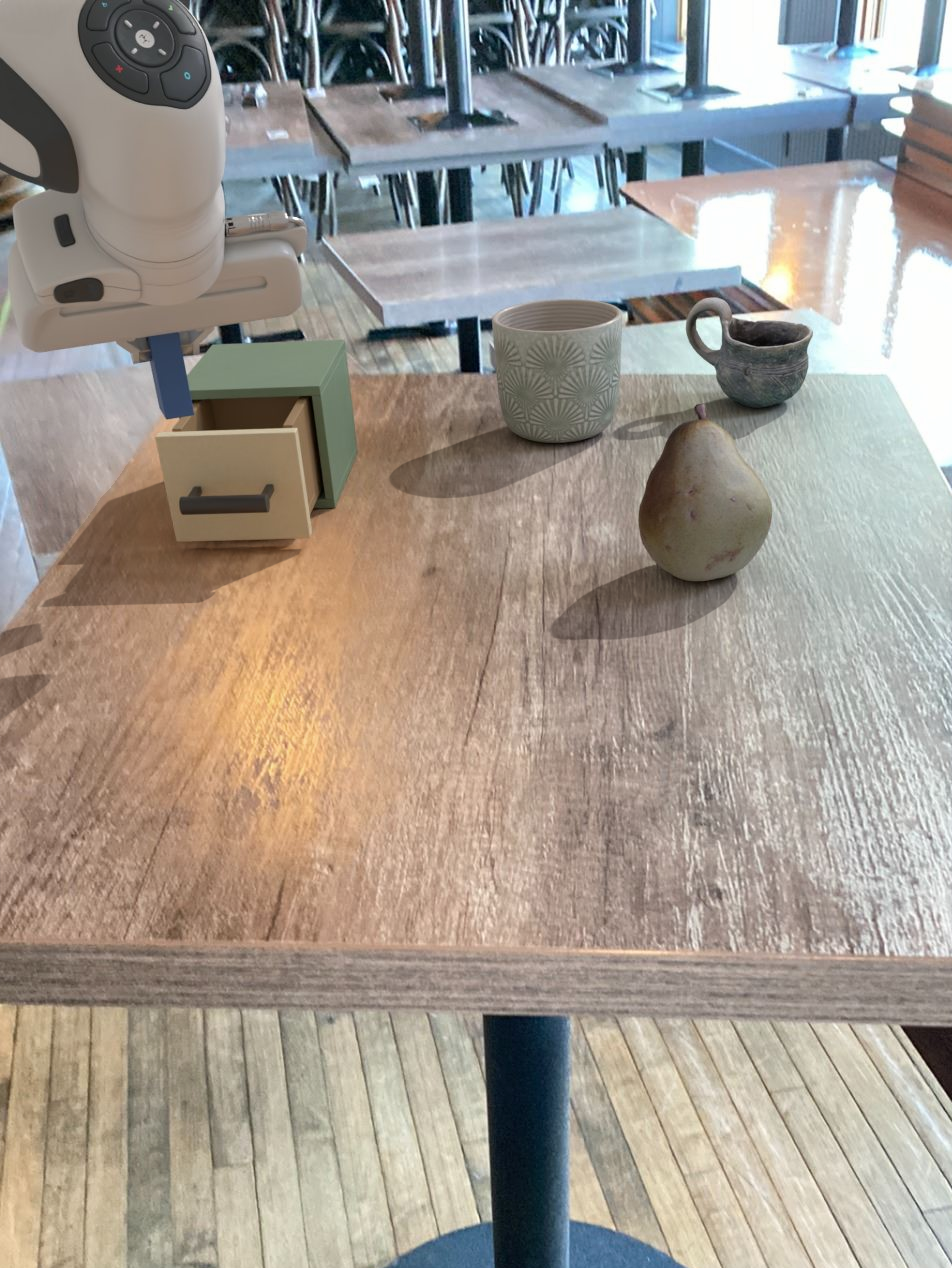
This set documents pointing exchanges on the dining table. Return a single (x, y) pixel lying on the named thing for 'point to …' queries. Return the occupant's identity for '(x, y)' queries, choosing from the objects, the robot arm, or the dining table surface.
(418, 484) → the dining table surface
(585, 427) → the planter
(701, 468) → the fruit
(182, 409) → the blue upright block
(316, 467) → the drawer
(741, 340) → the mug
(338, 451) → the cabinet
